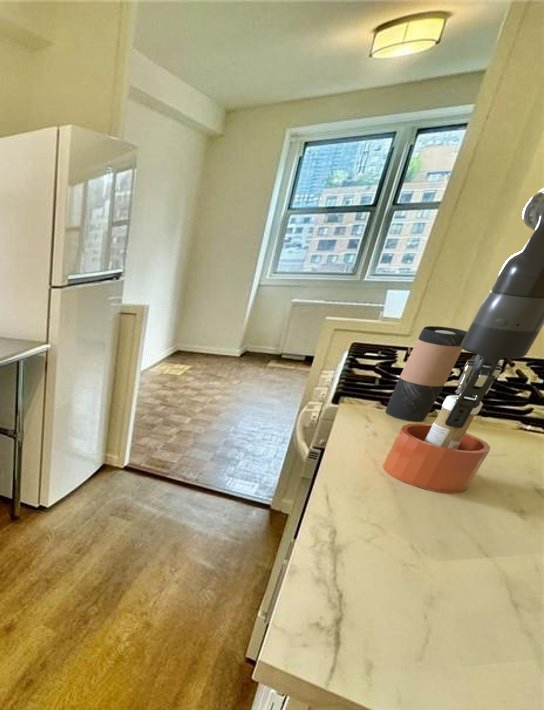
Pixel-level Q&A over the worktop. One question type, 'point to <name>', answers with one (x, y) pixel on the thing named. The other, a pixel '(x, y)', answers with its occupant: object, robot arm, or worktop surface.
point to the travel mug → (425, 372)
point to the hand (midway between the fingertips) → (453, 421)
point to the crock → (434, 460)
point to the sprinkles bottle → (447, 434)
